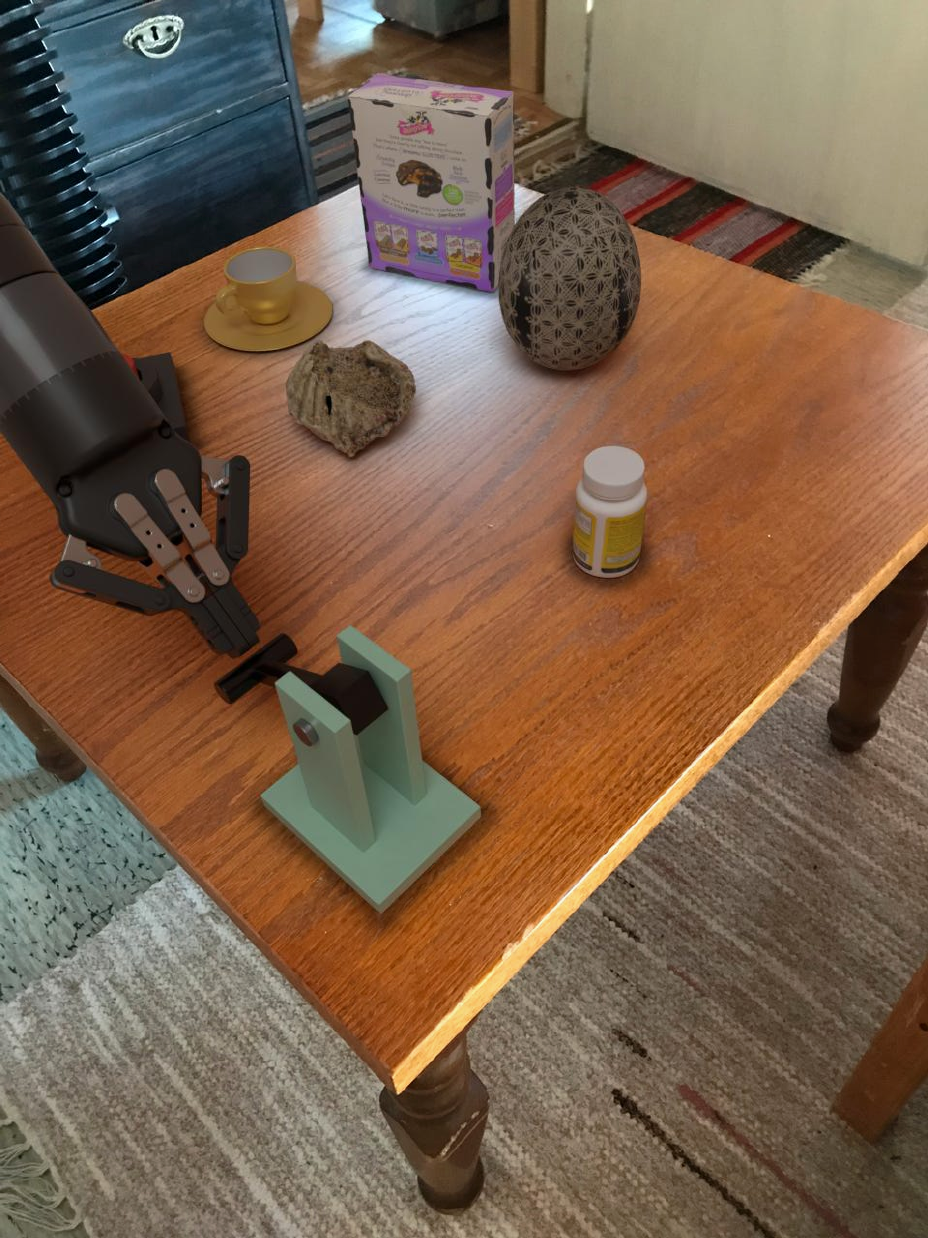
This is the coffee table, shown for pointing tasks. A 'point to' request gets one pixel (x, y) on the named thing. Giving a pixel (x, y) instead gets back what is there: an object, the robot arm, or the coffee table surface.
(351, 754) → the bracket
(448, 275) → the candy box
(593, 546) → the supplement bottle
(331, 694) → the lever
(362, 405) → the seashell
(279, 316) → the cup
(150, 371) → the button housing
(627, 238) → the decorative egg
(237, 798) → the coffee table surface
